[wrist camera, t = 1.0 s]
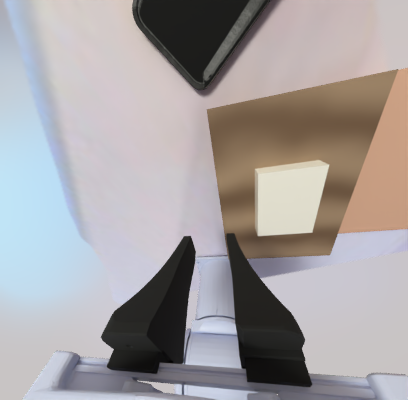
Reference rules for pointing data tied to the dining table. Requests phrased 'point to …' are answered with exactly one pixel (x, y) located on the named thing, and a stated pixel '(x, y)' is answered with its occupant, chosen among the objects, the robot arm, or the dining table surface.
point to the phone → (197, 32)
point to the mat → (384, 170)
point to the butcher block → (295, 155)
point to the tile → (288, 197)
